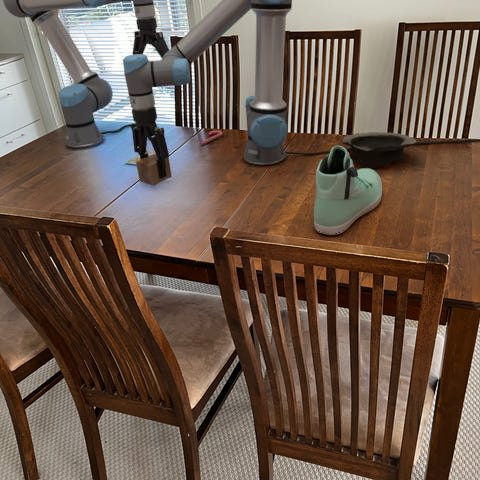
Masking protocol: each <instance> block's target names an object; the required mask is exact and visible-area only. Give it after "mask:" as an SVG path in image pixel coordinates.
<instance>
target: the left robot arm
mask: <svg viewBox="0 0 480 480" xmlns="http://www.w3.org/2000/svg"><path fill="white" fill-rule="evenodd" d="M2 2H3V5H4V8H5V9H6V10H7V11H8V12H9V13H10V14H11V15H12V16H14V17H16V18H19V19H21V18H24V19H25V18H29V19H30V20H31V22H32V24H33V25H34V26H38V27H39V28H40V29H41V31H42V32H43V34H44V36H45V37H46V39H47V41H48V42H49V44H50V46H51V47H52V49H53V50H54V52H55V54H56V55H57V57H58V59H59V60H60V62H61V63H62V64H63V66H64V68H65V69H66V71H67V72H68V74H69V76H70V77H71V79H72V80H73V83H72V84H70V85H66V86H65V87H62V88H61V89H60V90H59V91H58V100H59V105H60V108H61V113H62V116H63V119H64V123H65V126H66V133H65V144H66V148H68V149H70V150H85V149H92V148H94V147H97V146H99V145H102V143H104V135H107V134H117V133H119V132H121V131H123V129H125V128H131V126H130V124H131V123H130V124H125V125H122V126H121V127H120V128H117V129H116V130H106V131H101V130H100V129H99V127H98V125H97V124H96V121H95V117H94V114H95V113H96V112H98V111H100V110H102V109H104V108H106V107H107V106H108V105H110V103H111V102H112V101H113V95H114V94H113V88H112V86H111V84H110V83H109V82H108V81H107V79H104V78H102V77H101V78H100V76H99V74H98V73H97V72H96V71H92V70H91V68H90V66H89V65H88V63H87V61H86V59H85V58H84V57H83V55H82V53H81V51H80V50H79V48H78V46H77V45H76V43H75V42H74V40H73V38H72V37H71V35H70V34H69V32H68V31H67V29H66V27H65V25H64V24H63V22H62V20H61V19H60V17H59V13H60V10H68V9H80V8H86V7H87V8H90V7H91V8H99V7H103V6H106V5H111V4H116V3H121V2H132V3H133V9H134V15H135V18H136V22H135V23H136V28H137V30H135V31H134V33H133V35H134V36H133V37H134V39H133V46H132V55H134V54H144V52H145V50H146V47H147V45H150V46H152V47H154V50H156V52H157V53H158V55H159V57H160V58H161V59H162V58H163V55H164V54H165V53H166V52H167V51H169V50H170V48H169V46H168V44H167V42H166V40H165V38H164V37H165V36H164V33H163V31H157V28H158V22H157V18H156V17H155V16H156V15H157V14H156V8H155V3H154V0H2ZM156 121H157V118H156Z"/></svg>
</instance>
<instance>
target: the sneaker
mask: <svg viewBox="0 0 480 480" xmlns="http://www.w3.org/2000/svg"><path fill="white" fill-rule="evenodd" d="M346 149H347V148H345V147H344V146H342V145H334V146H333V147H331V149H330V151H331V152H330V153H328V154H327V155H326V156H325V157H324V158H322V159H321V160H320V161H319V163H318V164H317V165H318V166H317V168H316V172H315V201H314V207H313V225H314V229H315V231H316V232H318V233H320V234H323V235H326V236H327V235H328V236H336V235H339V234H342V233H344V232H345V231H347V230H348V229H349V228H350V227H351V226H352V225H353V224H354V222H356V221H357V220H358V219H359V218H360V217H362V216H363V215H365V214H367V213H370V212H372V210H374V209H375V208H377V207H378V205H380V203H381V200H382V196H383V184H382V183H383V182H382V179H381V176H380V175H379V173H378V172H377V171H376V170H374V169H372V168H369V167H363V168H358V169H357V168H355V167H354V161H353V159H352V158H351V156H350V153H349V152H348V150H346ZM343 230H344V231H343ZM319 231H320V232H319ZM322 232H323V233H322ZM339 232H340V233H339ZM326 233H327V234H326ZM328 233H329V234H328ZM335 233H337V234H335Z"/></svg>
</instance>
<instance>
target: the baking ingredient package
mask: <svg viewBox="0 0 480 480" xmlns="http://www.w3.org/2000/svg"><path fill="white" fill-rule="evenodd" d="M146 151H148V152H147V154H148V156H150V155H153V154H156V153H155V151H154V149H146ZM145 154H146V153H145ZM139 160H141V159H140V155H139V154H138V155H136V156H134V157H132V158H131V159H129V160H126V161H125V162H124V163H125V164H130V165H136V162H137V161H139Z"/></svg>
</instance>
